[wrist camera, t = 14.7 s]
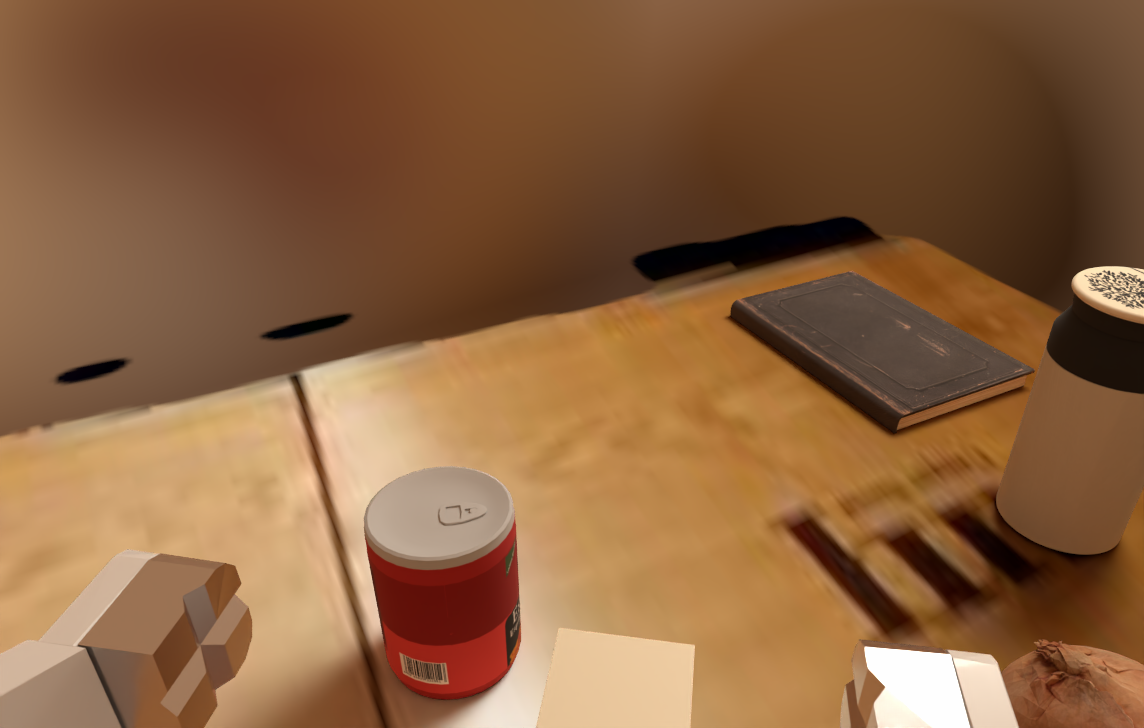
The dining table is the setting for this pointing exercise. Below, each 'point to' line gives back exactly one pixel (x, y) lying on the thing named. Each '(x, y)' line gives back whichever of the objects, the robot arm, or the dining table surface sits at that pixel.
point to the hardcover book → (879, 348)
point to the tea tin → (617, 682)
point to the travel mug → (1083, 421)
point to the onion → (1075, 688)
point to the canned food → (446, 579)
